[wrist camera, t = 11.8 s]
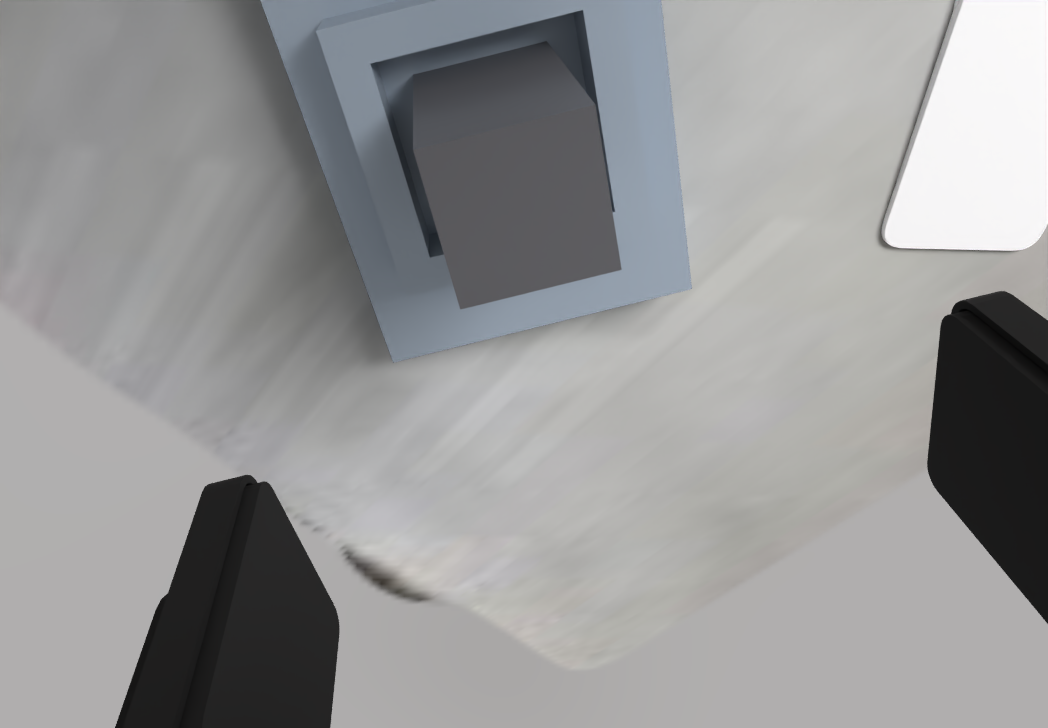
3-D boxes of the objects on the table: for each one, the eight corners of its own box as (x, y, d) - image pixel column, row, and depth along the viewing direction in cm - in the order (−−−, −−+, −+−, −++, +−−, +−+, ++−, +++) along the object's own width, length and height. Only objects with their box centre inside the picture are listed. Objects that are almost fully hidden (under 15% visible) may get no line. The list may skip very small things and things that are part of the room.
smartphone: (877, 247, 33) (1028, -194, 25) (868, 240, 33) (1013, -192, 25) (1036, 251, 34) (1230, -171, 26) (1024, 244, 34) (1211, -171, 26)
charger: (413, 74, 25) (412, 150, 18) (546, 41, 25) (595, 104, 18) (450, 205, 28) (461, 314, 21) (571, 175, 28) (622, 275, 21)
